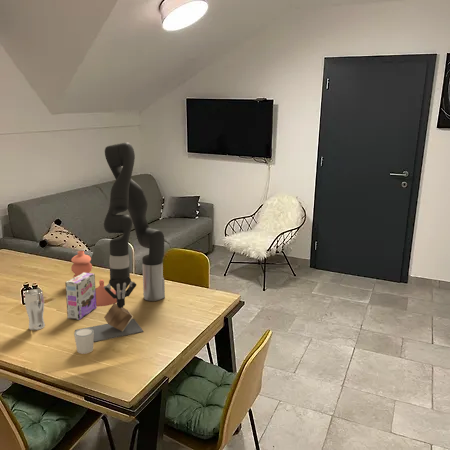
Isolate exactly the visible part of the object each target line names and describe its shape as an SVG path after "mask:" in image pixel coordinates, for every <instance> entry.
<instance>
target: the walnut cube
mask: <svg viewBox="0 0 450 450" xmlns="http://www.w3.org/2000/svg"><path fill="white" fill-rule="evenodd" d="M133 317H134V316H133V315H132V314H131V312H130V311H129V310H128V309H127V308H125V307H124V306H123V307H122V308H119V307H118V306H117V303H114V304H112V306H111V307H110V308H109V309H108V311H107V312H106V314H105V315H104V319H105V321H106V322H107V323H106V324H109V325H111V326H113V327H115V328H117V329H119V330H120V331H122V332H123V331H124V329H125V328H126V326H127V325H128V323H129V322H130V320H131V319H134V318H133Z"/></svg>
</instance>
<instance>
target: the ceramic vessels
mask: <svg viewBox="0 0 450 450" xmlns="http://www.w3.org/2000/svg"><path fill="white" fill-rule="evenodd" d="M91 260H92V257H91V256H90V255H88V254H85V251H84V250H77V254H76V255H74V256H73V257H71V263H72V265H71V267H70V270H71V272H72V273H73V274H74V275H73V276H72V279H73V278H74V277H76V276H78V275H80V274H82V273H83V272H84V273H91V272H92V269H93V264H92V263H91ZM98 281H99V282H98V283H99V286H97V287H95V288H96V305H97V308H98V307H106V306H111V305H113V304H114V303H116V304H117V299H116V298H115V299H114V298H113V297H112V296H111V295H110V294H109V293H108V292H107V291H106V290H105V289H104V286H105V280H104V279H99V280H98ZM111 291H112V292H113V293H114V294H116V292H115V290H114V289H113V288H111Z"/></svg>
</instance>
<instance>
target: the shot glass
mask: <svg viewBox="0 0 450 450" xmlns="http://www.w3.org/2000/svg"><path fill="white" fill-rule="evenodd" d="M83 328H84V329H82V328H79V329H80V330H77V329H76V330H77V331H76V332H75V331H74V333H73V334H74V342H75V346H76V352H77V353H79V354H83V355H84V354H85V355H86V354H89V353H92V352H93V350H94V343H95V342H94V330H93V329H90V328H88V327H83Z"/></svg>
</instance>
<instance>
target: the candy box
mask: <svg viewBox="0 0 450 450" xmlns="http://www.w3.org/2000/svg"><path fill="white" fill-rule="evenodd" d="M96 288H97V287H96V274H95V273H91V272H89V273H84V272H83V273H82V274H80V275H78V276H76V277H74V278H73V277H72V278H71V279H69V280H67V281H65V298H66V315H67V319H71V320H75V321H76V320H78V321H79V320H81V319H83V317H86V316H87V315H88V314H90V313H91V312H92V311H95V310H96V309H97V308H98V307H97V305H96Z"/></svg>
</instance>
